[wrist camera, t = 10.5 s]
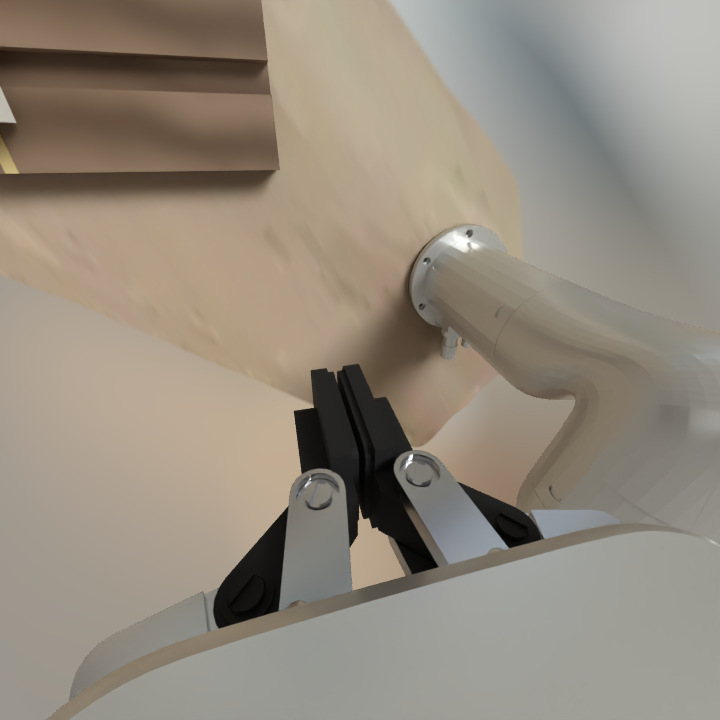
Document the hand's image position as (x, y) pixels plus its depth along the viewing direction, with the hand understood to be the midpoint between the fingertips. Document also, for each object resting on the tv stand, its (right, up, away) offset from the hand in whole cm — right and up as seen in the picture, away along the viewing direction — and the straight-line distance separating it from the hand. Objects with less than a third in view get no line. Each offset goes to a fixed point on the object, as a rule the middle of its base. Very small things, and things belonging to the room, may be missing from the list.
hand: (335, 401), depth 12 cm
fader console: (-18, +22, +13) cm, 32 cm away
